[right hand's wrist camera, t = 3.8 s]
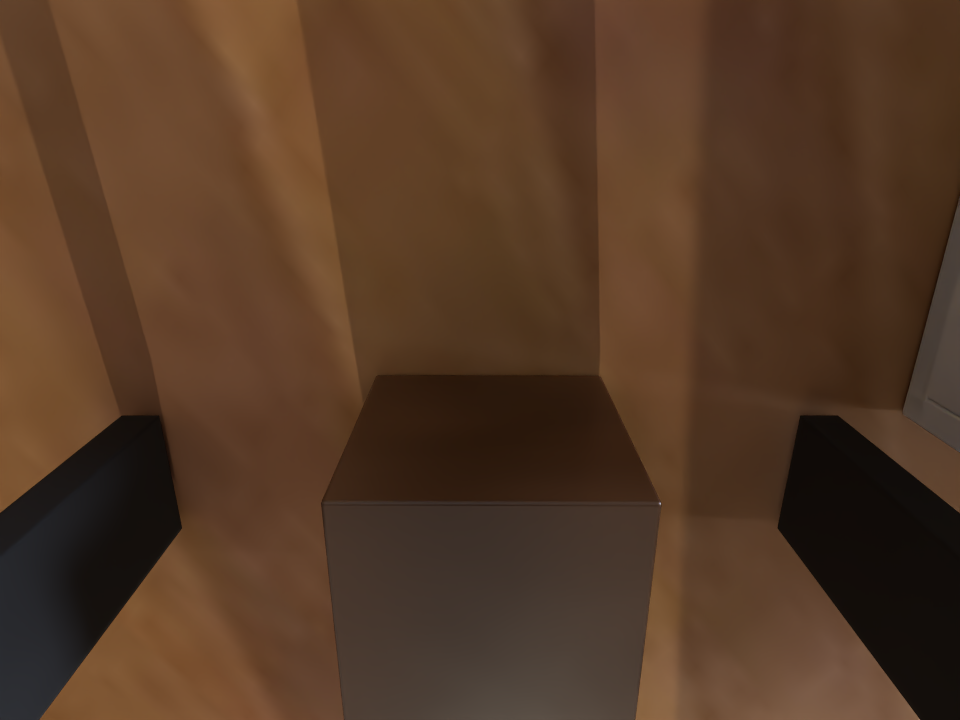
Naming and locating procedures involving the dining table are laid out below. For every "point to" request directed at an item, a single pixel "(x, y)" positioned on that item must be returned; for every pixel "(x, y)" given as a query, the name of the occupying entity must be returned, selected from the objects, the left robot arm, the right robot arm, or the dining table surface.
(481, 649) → the walnut block
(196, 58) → the dining table surface
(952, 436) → the grey bin
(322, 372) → the dining table surface
